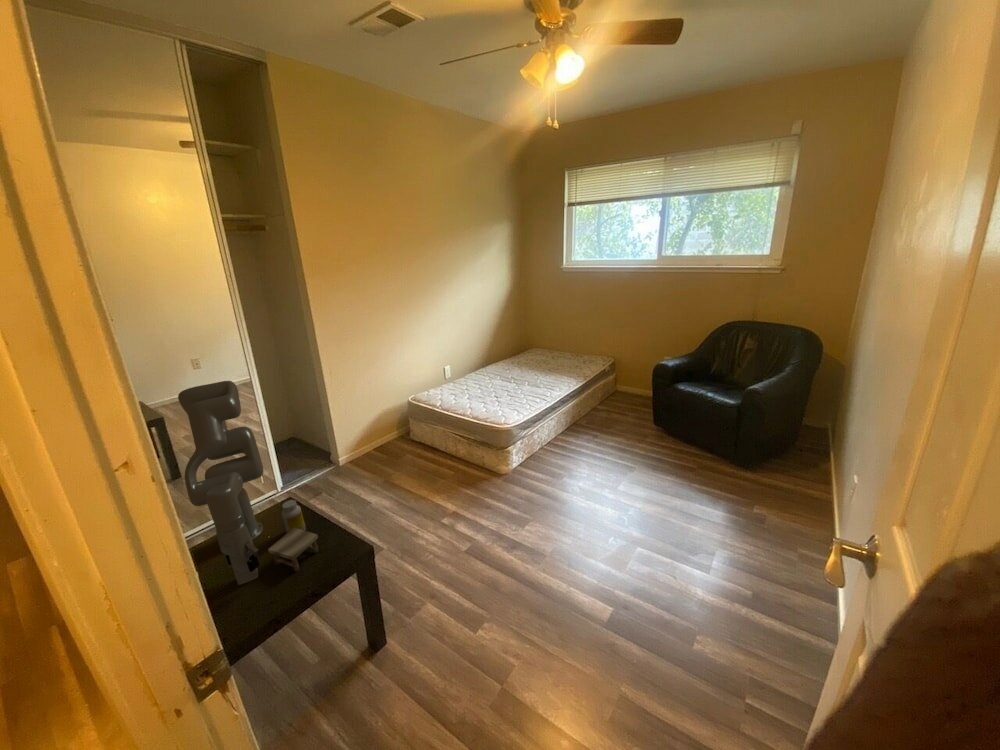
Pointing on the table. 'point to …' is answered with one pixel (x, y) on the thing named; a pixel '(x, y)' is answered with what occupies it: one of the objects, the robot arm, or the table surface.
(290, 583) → the table surface
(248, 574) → the skincare box
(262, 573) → the table surface
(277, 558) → the stool
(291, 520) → the supplement bottle
